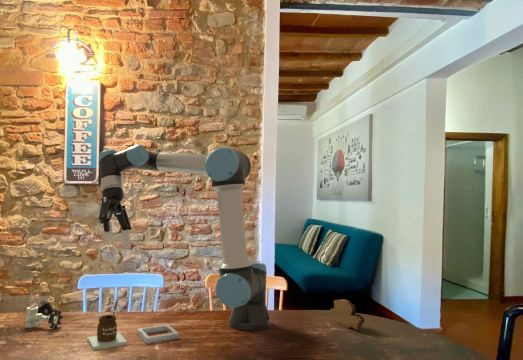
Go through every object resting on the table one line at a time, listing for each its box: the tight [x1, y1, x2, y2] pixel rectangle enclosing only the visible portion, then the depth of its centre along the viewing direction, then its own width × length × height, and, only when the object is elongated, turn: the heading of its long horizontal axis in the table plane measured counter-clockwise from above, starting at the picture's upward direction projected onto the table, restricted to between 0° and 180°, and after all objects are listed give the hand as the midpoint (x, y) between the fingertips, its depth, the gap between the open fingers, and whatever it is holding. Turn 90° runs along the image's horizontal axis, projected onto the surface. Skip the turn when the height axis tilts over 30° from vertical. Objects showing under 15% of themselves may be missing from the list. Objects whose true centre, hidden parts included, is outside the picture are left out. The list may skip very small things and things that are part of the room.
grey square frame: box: [136, 324, 180, 345], centre depth 143 cm, size 11×11×2 cm
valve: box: [24, 306, 64, 330], centre depth 150 cm, size 7×7×12 cm
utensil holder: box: [96, 299, 119, 342], centre depth 137 cm, size 6×6×12 cm
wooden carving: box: [330, 298, 365, 331], centre depth 159 cm, size 16×5×10 cm, turn 34°
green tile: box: [87, 331, 128, 351], centre depth 136 cm, size 10×10×1 cm
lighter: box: [38, 300, 55, 316], centre depth 161 cm, size 9×2×6 cm
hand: (118, 244), depth 154 cm, fingers open, 13 cm apart
